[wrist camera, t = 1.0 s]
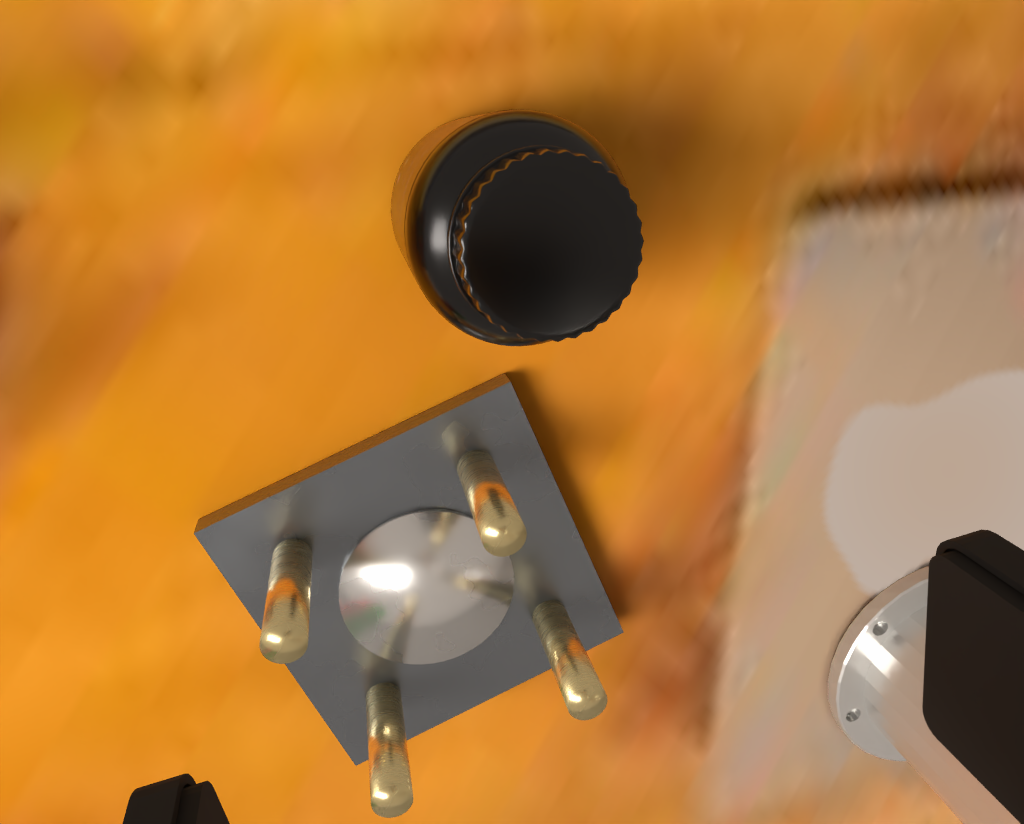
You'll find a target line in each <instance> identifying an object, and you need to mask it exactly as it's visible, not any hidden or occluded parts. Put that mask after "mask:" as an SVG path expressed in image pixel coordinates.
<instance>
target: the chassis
mask: <svg viewBox="0 0 1024 824" xmlns="http://www.w3.org/2000/svg"><path fill="white" fill-rule="evenodd" d="M194 534H195V536H196V537H197V539H198V540H199V542H200V543H201V544H202V546H203V547H204V549H205V550H206V552H207V553H208V554H209V556H210V557H211V559H212V560H213V562H214V563H215V564H216V566H217V567H218V569H219V570H220V572H221V573H222V574H223V576H224V577H225V579H226V580H227V582H228V583H229V585H230V586H231V587H232V589H233V590H234V592H235V593H236V595H237V596H238V597H239V599H240V600H241V602H242V603H243V605H244V606H245V607H246V609H247V610H248V612H249V613H250V615H251V616H252V617H253V619H254V620H255V622H256V623H257V625H258V626H259V628H260V629H261V630H262V631H261V638H260V650H261V653H262V654H263V656H264V657H265V658H266V659H268V660H269V661H271V662H274V663H279V664H285V665H286V666H287V668H288V669H289V670H290V672H291V673H292V675H293V676H294V678H295V679H296V681H297V682H298V683H299V685H300V686H301V688H302V689H303V691H304V692H305V693H306V695H307V696H308V698H309V699H310V701H311V702H312V703H313V705H314V706H315V708H316V709H317V711H318V712H319V713H320V715H321V716H322V718H323V719H324V721H325V722H326V724H327V725H328V726H329V728H330V729H331V731H332V732H333V734H334V735H335V736H336V738H337V739H338V741H339V742H340V744H341V745H342V746H343V748H344V749H345V751H346V752H347V754H348V755H349V756H350V758H351V759H352V761H353V762H354V764H355V765H358V764H360V763H362V762H364V761H366V760H368V759H369V772H370V790H371V806H372V809H373V811H374V812H375V813H376V814H377V815H379V816H382V817H387V818H391V817H396V816H399V815H402V814H403V813H405V812H406V811H407V810H408V809H409V808H410V807H411V805H412V803H413V792H412V784H411V775H410V767H409V758H408V749H407V741H406V740H408V739H410V738H412V737H414V736H416V735H418V734H420V733H422V732H424V731H426V730H429V729H431V728H433V727H435V726H437V725H439V724H441V723H443V722H445V721H447V720H449V719H451V718H453V717H455V716H457V715H459V714H461V713H463V712H465V711H467V710H469V709H471V708H473V707H475V706H477V705H479V704H481V703H483V702H485V701H487V700H489V699H491V698H493V697H495V696H497V695H499V694H501V693H503V692H505V691H507V690H509V689H511V688H513V687H515V686H517V685H519V684H521V683H523V682H525V681H527V680H529V679H531V678H533V677H535V676H537V675H539V674H541V673H543V672H545V671H547V670H549V669H551V668H552V671H553V673H554V676H555V678H556V681H557V683H558V686H559V688H560V691H561V693H562V696H563V698H564V701H565V703H566V706H567V708H568V711H569V713H570V714H571V716H573V717H574V718H576V719H579V720H589V719H592V718H594V717H596V716H598V715H599V714H600V713H601V712H602V711H603V710H604V709H605V707H606V704H607V695H606V693H605V691H604V689H603V687H602V685H601V682H600V680H599V678H598V676H597V674H596V672H595V670H594V668H593V666H592V664H591V661H590V659H589V657H588V655H587V653H586V651H587V650H589V649H591V648H593V647H595V646H597V645H599V644H601V643H603V642H605V641H607V640H609V639H611V638H613V637H615V636H617V635H619V634H621V633H623V630H622V628H621V626H620V623H619V621H618V619H617V617H616V614H615V612H614V610H613V608H612V606H611V603H610V601H609V599H608V597H607V594H606V592H605V590H604V588H603V586H602V583H601V581H600V579H599V577H598V575H597V572H596V570H595V568H594V566H593V563H592V561H591V559H590V557H589V555H588V552H587V550H586V548H585V546H584V543H583V541H582V539H581V537H580V535H579V532H578V530H577V528H576V526H575V524H574V521H573V519H572V517H571V515H570V512H569V510H568V508H567V506H566V504H565V501H564V499H563V497H562V495H561V492H560V490H559V488H558V486H557V484H556V481H555V479H554V477H553V475H552V472H551V470H550V468H549V466H548V464H547V461H546V459H545V457H544V455H543V453H542V450H541V448H540V446H539V444H538V441H537V439H536V437H535V435H534V433H533V430H532V428H531V426H530V424H529V421H528V419H527V417H526V415H525V413H524V410H523V408H522V406H521V404H520V401H519V399H518V397H517V395H516V393H515V390H514V388H513V386H512V384H511V382H510V380H509V379H508V377H507V376H506V374H505V373H504V374H502V375H499V376H497V377H495V378H493V379H491V380H489V381H487V382H485V383H483V384H481V385H479V386H476V387H474V388H472V389H470V390H468V391H466V392H464V393H462V394H460V395H458V396H456V397H453V398H451V399H449V400H447V401H445V402H443V403H441V404H439V405H437V406H435V407H433V408H430V409H428V410H426V411H424V412H422V413H420V414H418V415H416V416H414V417H412V418H410V419H407V420H405V421H403V422H401V423H399V424H397V425H395V426H393V427H391V428H389V429H387V430H384V431H382V432H380V433H378V434H376V435H374V436H372V437H370V438H368V439H366V440H364V441H361V442H359V443H357V444H355V445H353V446H351V447H349V448H347V449H345V450H343V451H341V452H338V453H336V454H334V455H332V456H330V457H328V458H326V459H324V460H322V461H320V462H318V463H316V464H313V465H311V466H309V467H307V468H305V469H303V470H301V471H299V472H297V473H295V474H293V475H290V476H288V477H286V478H284V479H282V480H280V481H278V482H276V483H274V484H272V485H270V486H267V487H265V488H263V489H261V490H259V491H257V492H255V493H253V494H251V495H249V496H247V497H244V498H242V499H240V500H238V501H236V502H234V503H232V504H230V505H228V506H226V507H224V508H221V509H219V510H217V511H215V512H213V513H211V514H209V515H207V516H205V517H203V518H201V519H199V520H198V523H197V525H196V528H195V531H194Z"/></svg>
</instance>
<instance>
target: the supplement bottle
mask: <svg viewBox="0 0 1024 824" xmlns="http://www.w3.org/2000/svg"><path fill="white" fill-rule="evenodd" d="M391 217H392V225H393V230H394V234H395V237H396V240H397V243H398V246H399V248H400V250H401V252H402V254H403V256H404V258H405V260H406V262H407V264H408V266H409V268H410V270H411V272H412V274H413V276H414V277H415V279H416V281H417V283H418V285H419V287H420V288H421V290H422V292H423V293H424V295H425V297H426V298H427V300H428V301H429V302H430V304H431V305H432V306H433V307H434V308H435V309H436V310H437V311H438V312H439V314H440V315H442V316H443V317H444V318H445V319H446V320H447V321H448V322H449V323H451V324H452V325H454V326H455V327H456V328H458V329H459V330H461V331H463V332H465V333H466V334H468V335H470V336H473V337H475V338H477V339H480V340H483V341H486V342H489V343H494V344H498V345H506V346H529V345H536V344H542V343H545V342H549V341H552V340H553V341H557V342H559V341H561V340H563V339H565V338H576V337H578V336H579V335H580V334H582V333H583V332H590V331H592V330H593V329H594V328H595V327H596V326H597V325H598V324H600V323H603V322H605V321H607V320H608V318H609V317H610V315H611V313H612V312H614V311H616V310H618V309H619V308H620V306H621V304H622V301H623V299H624V298H625V297H627V296H628V295H629V294H630V291H631V286H632V284H633V283H634V281H635V280H636V279H637V277H638V266H639V265H640V263H641V261H642V254H641V248H642V246H643V242H644V240H643V237H642V235H641V233H640V232H641V226H642V222H641V220H640V219H639V217H638V216H637V205H636V204H635V203H634V201H632V200H631V199H630V195H629V190H628V188H627V186H626V183H625V180H624V178H623V176H622V174H621V172H620V169H619V168H618V166H617V164H616V163H615V161H614V159H613V158H612V157H611V155H610V154H609V153H608V151H607V150H606V149H605V148H604V147H603V146H602V144H601V143H600V142H599V141H598V140H597V139H596V138H594V137H593V136H592V135H591V134H590V133H588V132H587V131H586V130H584V129H583V128H582V127H580V126H578V125H576V124H575V123H573V122H571V121H569V120H567V119H564V118H562V117H560V116H556V115H553V114H550V113H545V112H541V111H534V110H505V111H497V112H492V113H486V114H480V115H475V116H469V117H465V118H460V119H457V120H454V121H451V122H448V123H446V124H444V125H442V126H439V127H438V128H436V129H434V130H433V131H431V132H430V133H428V134H427V135H426V136H424V137H423V138H422V139H421V140H420V141H419V142H418V143H417V144H416V145H415V146H414V147H413V149H412V150H411V151H410V152H409V154H408V155H407V157H406V158H405V160H404V162H403V163H402V165H401V167H400V169H399V172H398V174H397V177H396V180H395V183H394V187H393V192H392V200H391Z"/></svg>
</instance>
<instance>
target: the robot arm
mask: <svg viewBox="0 0 1024 824" xmlns="http://www.w3.org/2000/svg"><path fill="white" fill-rule="evenodd" d="M828 701H829V705H830V709H831V713H832V715H833V717H834V719H835V721H836V722H837V724H838V726H839V728H840V729H841V730H842V731H843V732H844V733H845V734H846V736H847V737H848V738H849V739H850V740H851V742H852V743H853V744H854V745H856V746H857V747H858V748H860V749H861V750H862V751H864V752H865V753H868V754H870V755H872V756H875V757H877V758H880V759H886V760H892V761H907V762H908V763H909V764H910V765H911V766H912V767H913V768H914V769H915V770H916V772H917V773H918V774H919V775H920V776H921V777H922V778H923V779H924V780H925V782H926V783H927V784H928V785H929V786H930V787H931V788H932V789H933V790H934V792H935V793H936V794H937V795H938V796H939V797H940V798H941V799H942V800H943V802H944V803H945V804H946V805H947V806H948V807H949V808H950V809H951V810H952V812H953V813H954V814H955V815H956V816H957V817H958V818H959V819H960V820H961V822H962V823H963V824H1024V551H1023V550H1022V549H1020V548H1019V547H1017V546H1015V545H1014V544H1012V543H1010V542H1009V541H1007V540H1005V539H1004V538H1002V537H1001V536H999V535H998V534H996V533H994V532H991V531H989V530H979V531H976V532H972V533H969V534H966V535H963V536H959V537H956V538H953V539H950V540H946V541H944V542H942V543H940V545H939V546H938V548H937V551H936V556H934V557H932V559H931V560H930V563H929V566H927V567H924V568H921V569H919V570H917V571H915V572H913V573H911V574H909V575H907V576H905V577H903V578H901V579H899V580H897V581H896V582H895V583H893V584H892V585H890V586H889V587H887V588H886V589H885V590H883V591H882V592H880V593H879V594H878V595H877V596H876V597H875V598H874V599H873V600H872V601H871V602H870V603H869V604H867V605H866V606H865V607H864V608H863V610H862V611H861V612H860V613H859V614H858V616H857V617H856V618H855V619H854V621H853V622H852V623H851V624H850V626H849V627H848V629H847V631H846V633H845V634H844V636H843V638H842V639H841V641H840V643H839V645H838V647H837V650H836V652H835V655H834V657H833V660H832V663H831V667H830V672H829V677H828ZM123 824H229V821H228V819H227V817H226V815H225V812H224V810H223V808H222V806H221V803H220V801H219V799H218V797H217V794H216V792H215V790H214V788H213V786H212V784H211V783H210V782H209V781H205V782H202V783H198V784H196V783H195V781H194V779H193V778H192V776H190V775H189V774H183V775H179V776H176V777H173V778H169V779H166V780H163V781H160V782H156V783H153V784H150V785H147V786H143V787H140V788H137V789H135V790H134V791H133V793H132V794H131V797H130V799H129V802H128V806H127V809H126V813H125V817H124V821H123Z"/></svg>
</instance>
